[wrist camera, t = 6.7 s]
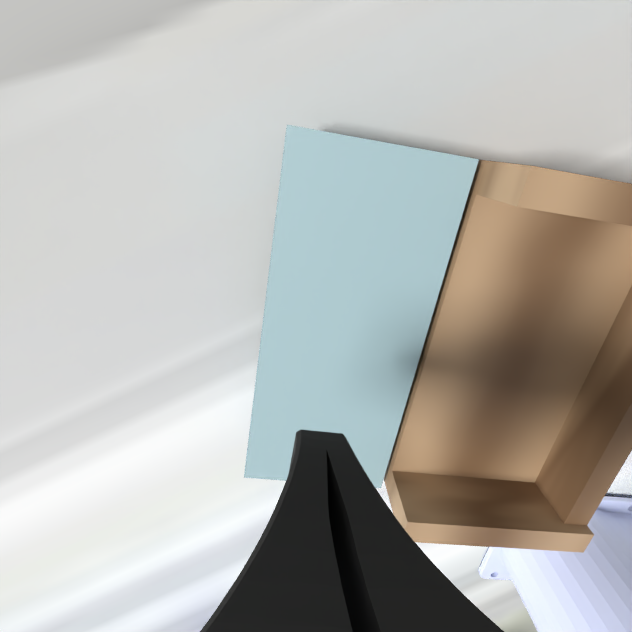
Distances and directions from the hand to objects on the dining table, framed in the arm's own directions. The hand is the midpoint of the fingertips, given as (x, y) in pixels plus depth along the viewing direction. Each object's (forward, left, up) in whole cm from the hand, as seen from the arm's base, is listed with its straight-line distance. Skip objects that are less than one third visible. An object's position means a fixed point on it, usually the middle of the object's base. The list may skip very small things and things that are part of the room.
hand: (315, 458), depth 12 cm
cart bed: (-10, -1, -9) cm, 14 cm away
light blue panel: (-5, -1, -6) cm, 8 cm away
